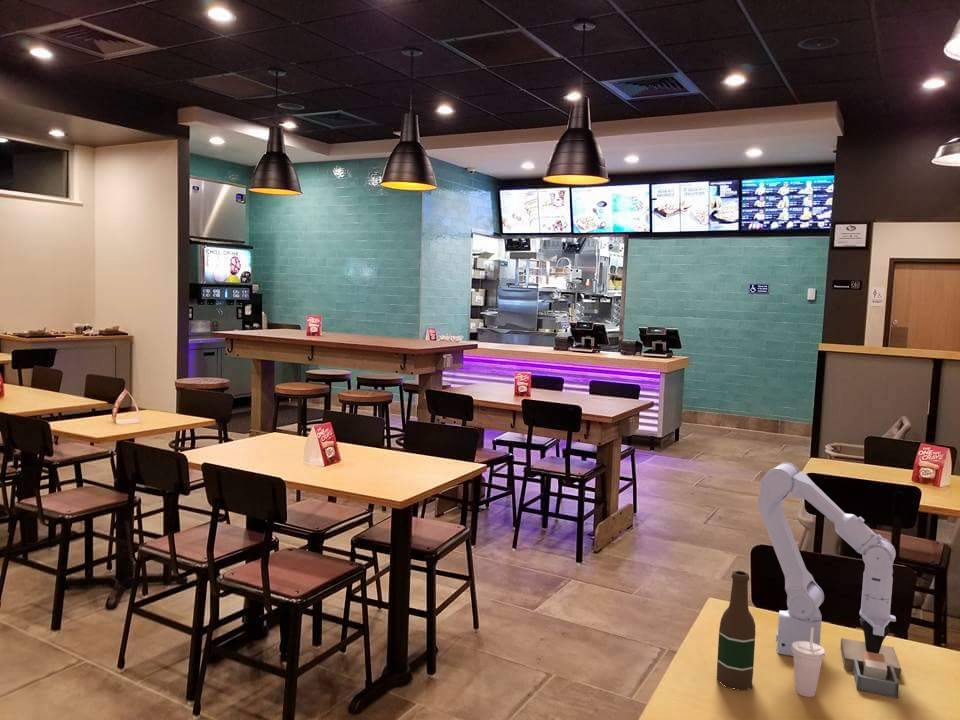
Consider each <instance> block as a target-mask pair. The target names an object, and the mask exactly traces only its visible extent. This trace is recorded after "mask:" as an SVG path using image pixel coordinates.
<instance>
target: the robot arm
mask: <svg viewBox="0 0 960 720" xmlns="http://www.w3.org/2000/svg"><path fill="white" fill-rule="evenodd" d="M759 483H760V489H759V491H758V492H759V493H758V499H757V502H756V503H757V508H758V511H759V514H760V517H761V518H762V521H763V524H764V526H765V528H766V532H767V534H768V537H769V539H770V542H771V544H772V547H773V550H774V552H775V555H776V557H777V561H778V562H779V565H780V568H781V571H782V573H783V576H784V590H785V592H786V595H787V597H786V606H787V610H779V611H778V621H777V622H778V623H777V632H776V633H775V641H776V642H777V644H776V649H777V650H776V652H777V654H781V655H785V656H790V657H793V651H792V649H791V648H792V643H794V642H796V641H807V642H810V634H811V627H813V628H814V633H813V643H815V644H817V645H819V646H821V635H822V633H821V632H822V631H821V630H822V620H823V619H822V617H823V616H822V612H821V611H820V608H819V607H820V606H821V605H822V604H823V603H824V600H825V594H824V591H823V589H822V588H821V587H820V586H819V585H818V583H817V582H816V581H815V578H814V576H813V574H812V573H810V572H809V570H808V569H807V567H806V564H805V562H804V560H803V557H802V554H801V551H800V550H799V547H798V544H797V542H796V539H795V537H794V535H793V531H792V529H791V527H790V524H789V522H788V521H789V520H788V519H787V517H786V514H785V511H784V509H783V504H784V502H785V501H786V499H787V497H788V495H789V494H790V495H789V498H795V499H804V500H806V501H807V502H808V503H809V504H811V506H813V507H814V508H815V509H816V510H818V511H819V513H821V514H823V516H825V517H826V518H827V519H829V521H831V523H833V525H834V531H835V533H836V534H837V535H838V536H839V537H840V538H842V540H844V541H845V542H846V543H847V544H848V545H849V546H850V547H852V549H854V551H855V552H856V553H858V554H859V555H862V556H861V557H862V561H863V563H864V571H863V573H862V574H863V575H862V576H863V577H862V588H861V589H862V590H861V603H860V610H859V612H858V613H859V616H860V618H859V623H860V626H861V629H862V631H863V634H864V635H863V636H864V642H865V646H866V651H867V652H872V653H878V654H879V651H880V648H881V645H883V642H884V640H885V639H886V637H887V636H888V635H889V634H890V631H891V629H890V627H889V626H890V625H889V623H890V622H897V618H896V616H895V615H893V614H891V608H892V607H891V605H892V594H893V583H894V581H893V580H894V578H893V574H894V569H893V566H894V561H895V558H896V556H897V554H896V553H897V552H896V549H895V546H894V545H893V544H892V543H891V541H890V540H888V539H886V538H883V536H882V535H881V534H880V533H877V534H876V533H875V532H874V530H873V529H871V528H870V527H869V526H868V525H867V524H866V523H865V521H866V520H865V519H864V518H863V517H862V516H859V517H858V516H857V515H855V514H853V513H846V512H845V511H844V510H843V509H841V508H840V507H839V506H838V505H837V504H836V503H835V502H834V501H833V500H832V499H831V498H830V497H829V496H828V495H827V494H826V493H825V492H824V491H823V490H822V489H821V488H820V487H819V486H817V484H815V482H814V481H813V480H812V479H811V478H810V477H809V476H808V475H807V474H806V473H805V472H803V471H800V470H799V468H798V467H797V466H796V465H795V464H793V463H790V462H780V463H779V464H778V465H776V466H775V467H774V468H771V469H769V470H767V472H766V473H765V474H764V475H763V477H762V478H761V480H760V482H759Z"/></svg>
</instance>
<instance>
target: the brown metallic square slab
mask: <svg viewBox="0 0 960 720" xmlns="http://www.w3.org/2000/svg"><path fill="white" fill-rule="evenodd" d="M863 651H866V646H865V641H859V640H854V639H849V638H845V637H841V638H840V653H841V659H842V663H843V668H844V669H843V670H849V671H853V661H854V658H857V661H858V666H859V670H860V671H864V667H863V658H862V657H863ZM879 654H883V655H884V660H885V663H886V665H887V675H886V676H889V664H891V665H893V668H894V671H895V674H896V677H897V680H901V676H902V674H901V672H902V667H901V663H900V661H899V658H898V655H897V653H896V650H895V647H894V646H890V645H883V644H882V645H881V648H880V651H879Z"/></svg>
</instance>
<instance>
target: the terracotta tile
mask: <svg viewBox="0 0 960 720" xmlns="http://www.w3.org/2000/svg"><path fill="white" fill-rule="evenodd" d="M862 658H863V667H864V665H865V659H867V660H872V661H878V662H883V663H885V660H884V655H883V654H878V653H872V652H867V651H863V657H862Z"/></svg>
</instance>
